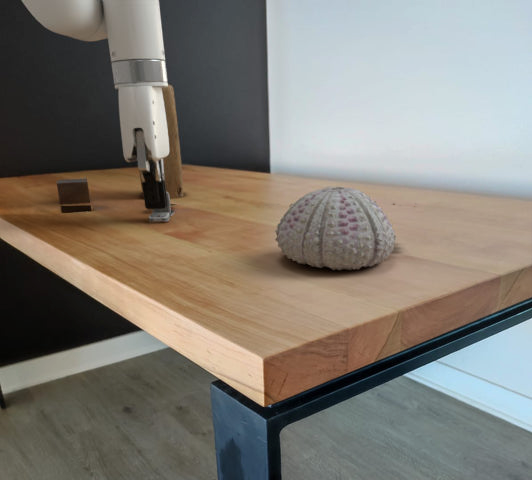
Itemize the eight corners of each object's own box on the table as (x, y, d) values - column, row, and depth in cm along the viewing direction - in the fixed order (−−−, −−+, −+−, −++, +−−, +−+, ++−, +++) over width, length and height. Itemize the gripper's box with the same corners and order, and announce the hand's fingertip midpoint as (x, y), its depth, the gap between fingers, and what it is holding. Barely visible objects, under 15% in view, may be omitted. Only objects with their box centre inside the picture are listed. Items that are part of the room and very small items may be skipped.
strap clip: (167, 223, 84) (165, 194, 82) (148, 223, 84) (145, 195, 82) (175, 213, 92) (173, 187, 90) (157, 213, 92) (154, 187, 90)
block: (185, 206, 98) (176, 82, 90) (143, 208, 97) (129, 83, 88) (180, 197, 108) (171, 85, 99) (142, 199, 106) (129, 85, 98)
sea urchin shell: (330, 241, 70) (332, 177, 67) (419, 260, 61) (427, 186, 58) (252, 260, 63) (250, 188, 59) (340, 285, 53) (344, 201, 50)
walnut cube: (61, 213, 94) (56, 183, 91) (62, 208, 98) (57, 179, 96) (91, 211, 95) (87, 181, 93) (91, 206, 99) (86, 178, 97)
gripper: (129, 80, 84) (145, 201, 92) (97, 75, 71) (119, 217, 79) (176, 77, 84) (189, 199, 92) (153, 72, 70) (170, 215, 78)
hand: (156, 207), depth 85 cm, fingers closed
